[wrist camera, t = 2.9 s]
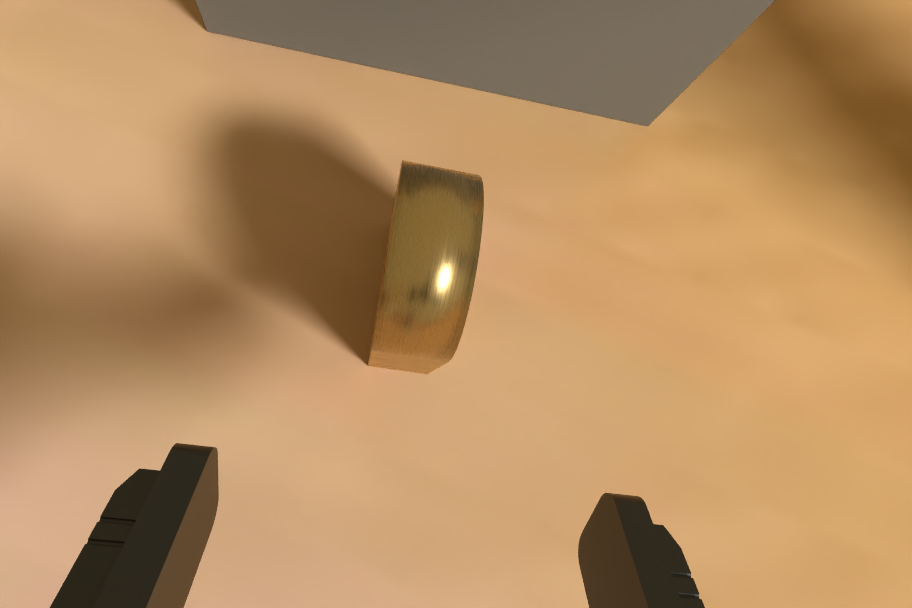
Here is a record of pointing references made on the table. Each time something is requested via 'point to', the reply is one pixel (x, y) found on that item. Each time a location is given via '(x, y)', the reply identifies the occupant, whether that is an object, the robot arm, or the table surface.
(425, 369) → the token
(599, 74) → the coin box
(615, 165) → the table surface
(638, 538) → the robot arm
